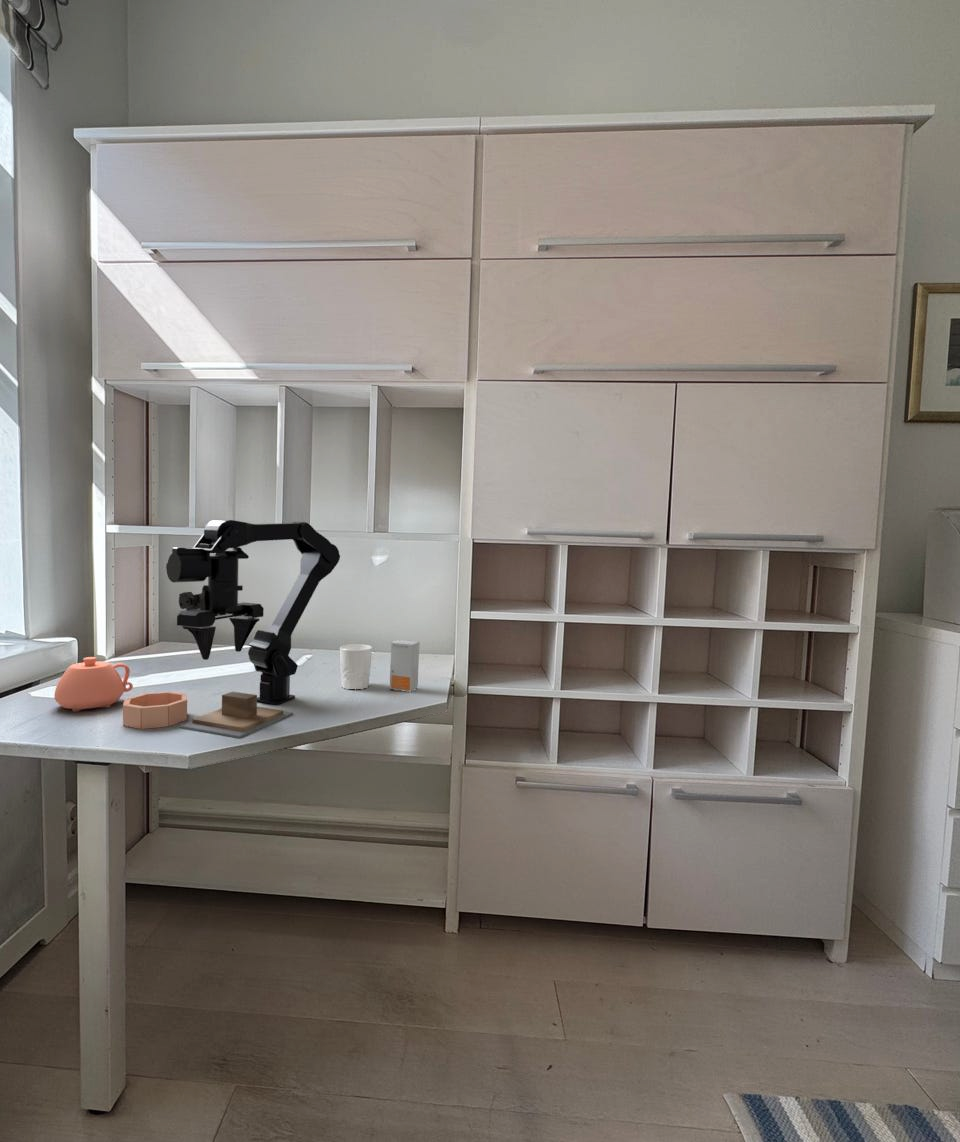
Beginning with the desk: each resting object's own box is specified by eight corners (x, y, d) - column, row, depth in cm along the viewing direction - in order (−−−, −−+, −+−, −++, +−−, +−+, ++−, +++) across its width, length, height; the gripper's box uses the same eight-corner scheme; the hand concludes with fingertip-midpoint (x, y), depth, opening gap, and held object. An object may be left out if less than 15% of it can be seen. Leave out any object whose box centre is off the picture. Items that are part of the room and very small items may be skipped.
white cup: (373, 683, 151) (374, 644, 150) (368, 691, 143) (369, 650, 143) (342, 682, 151) (343, 643, 150) (335, 690, 143) (336, 649, 142)
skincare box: (388, 690, 145) (390, 642, 144) (396, 686, 149) (397, 639, 148) (411, 693, 143) (413, 644, 142) (418, 688, 147) (420, 641, 146)
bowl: (157, 708, 124) (158, 689, 124) (199, 715, 120) (199, 695, 120) (110, 723, 113) (110, 702, 113) (154, 731, 110) (154, 710, 110)
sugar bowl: (51, 702, 125) (51, 655, 124) (127, 693, 134) (127, 649, 133) (57, 718, 116) (56, 666, 115) (138, 706, 125) (138, 659, 124)
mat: (238, 705, 128) (238, 703, 128) (293, 714, 123) (293, 712, 123) (179, 727, 113) (179, 725, 112) (239, 738, 108) (239, 736, 108)
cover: (236, 706, 125) (236, 684, 125) (283, 714, 122) (283, 691, 121) (192, 723, 114) (192, 698, 114) (242, 731, 110) (243, 706, 110)
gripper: (224, 576, 133) (223, 644, 134) (155, 581, 115) (154, 659, 116) (265, 578, 129) (264, 649, 130) (200, 584, 111) (199, 665, 112)
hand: (222, 655), depth 122 cm, fingers open, 9 cm apart
